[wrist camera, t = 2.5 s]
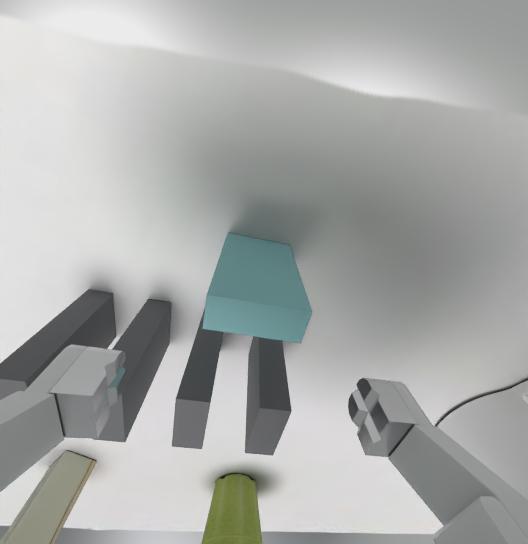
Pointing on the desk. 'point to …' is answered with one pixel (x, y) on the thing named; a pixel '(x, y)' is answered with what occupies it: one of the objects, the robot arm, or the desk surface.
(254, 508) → the plant pot
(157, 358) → the domino
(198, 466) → the desk surface
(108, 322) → the domino
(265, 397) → the domino
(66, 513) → the skincare box
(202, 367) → the domino
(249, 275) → the domino
